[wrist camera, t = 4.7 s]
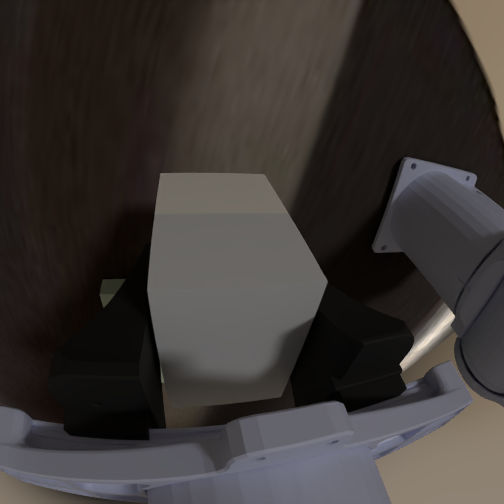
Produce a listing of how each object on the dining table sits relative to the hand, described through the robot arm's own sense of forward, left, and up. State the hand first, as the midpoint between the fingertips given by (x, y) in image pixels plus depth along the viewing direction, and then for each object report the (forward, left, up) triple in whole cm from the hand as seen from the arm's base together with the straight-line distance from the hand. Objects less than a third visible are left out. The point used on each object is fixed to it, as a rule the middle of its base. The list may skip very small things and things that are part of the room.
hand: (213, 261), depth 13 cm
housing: (0, 0, -2) cm, 2 cm away
